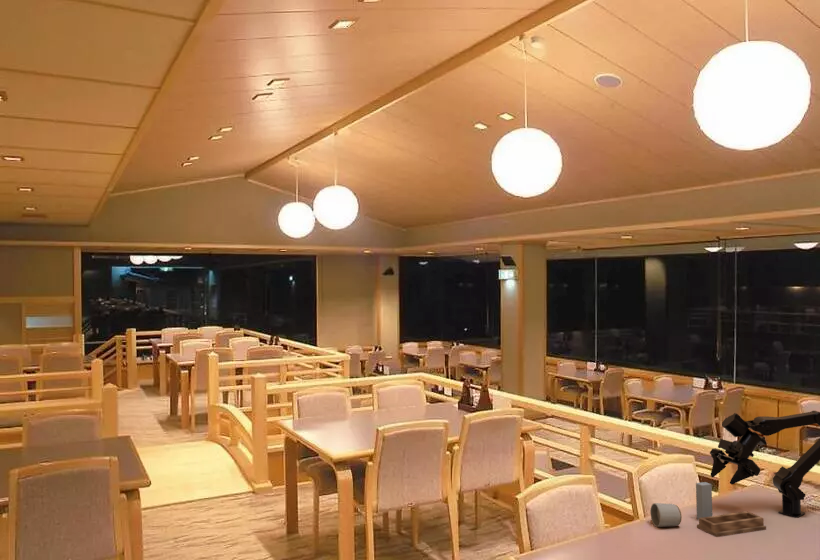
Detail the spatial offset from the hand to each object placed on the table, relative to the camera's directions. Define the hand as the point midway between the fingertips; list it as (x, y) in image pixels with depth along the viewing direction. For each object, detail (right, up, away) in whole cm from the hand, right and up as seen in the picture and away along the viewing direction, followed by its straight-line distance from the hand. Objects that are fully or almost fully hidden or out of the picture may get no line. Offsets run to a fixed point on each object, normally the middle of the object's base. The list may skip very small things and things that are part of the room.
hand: (720, 480), depth 230 cm
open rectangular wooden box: (-2, -13, -11) cm, 17 cm away
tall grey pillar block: (-7, -13, -2) cm, 15 cm away
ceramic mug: (-22, -14, -6) cm, 27 cm away
